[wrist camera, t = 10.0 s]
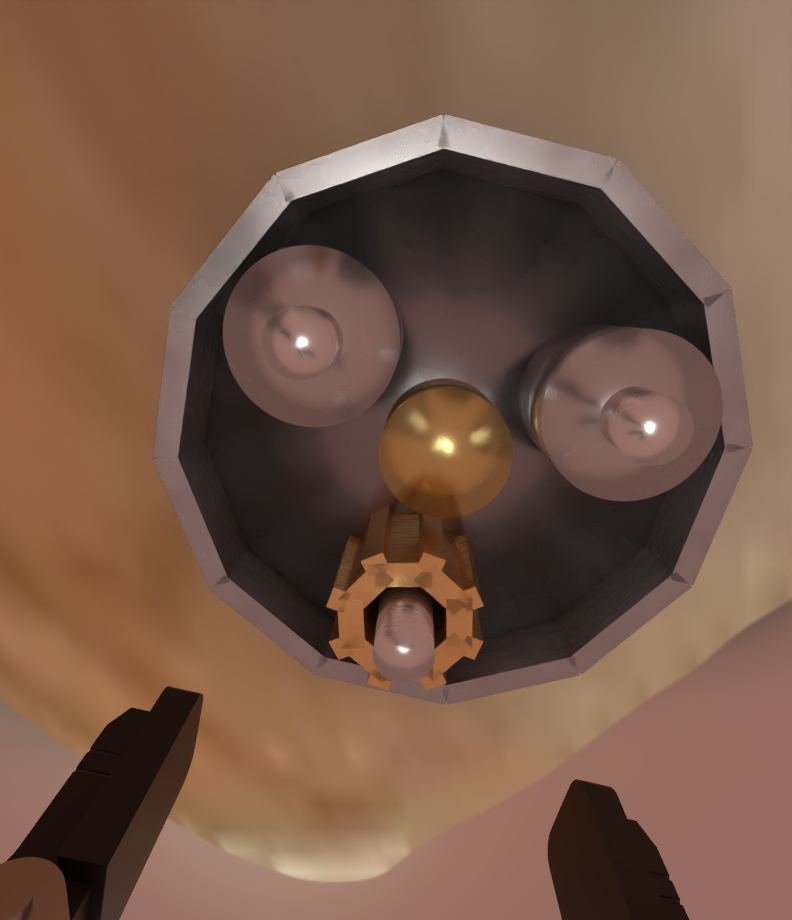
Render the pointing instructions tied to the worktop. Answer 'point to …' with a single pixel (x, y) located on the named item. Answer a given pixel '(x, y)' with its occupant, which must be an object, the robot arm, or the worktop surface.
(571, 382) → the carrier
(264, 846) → the worktop surface
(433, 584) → the planet gear
